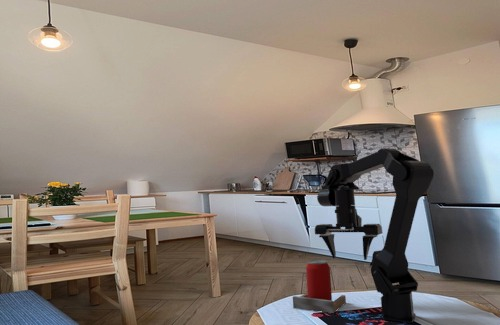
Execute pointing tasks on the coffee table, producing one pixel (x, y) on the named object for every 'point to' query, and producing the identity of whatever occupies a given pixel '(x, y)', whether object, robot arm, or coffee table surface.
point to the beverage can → (318, 280)
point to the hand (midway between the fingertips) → (349, 259)
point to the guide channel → (318, 303)
